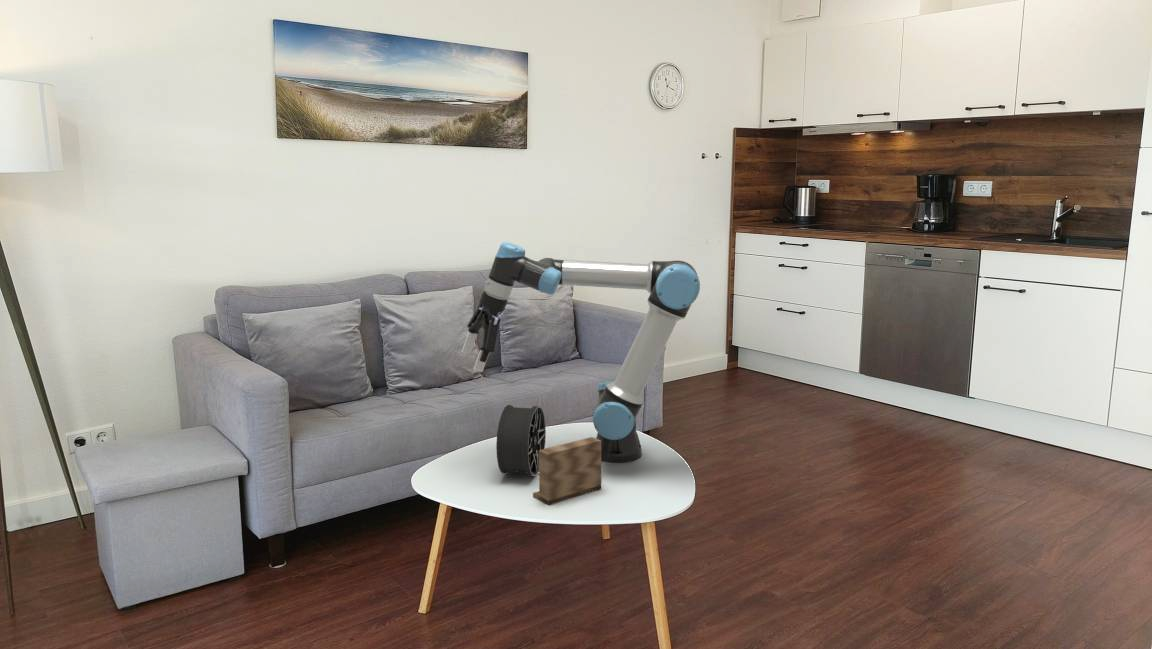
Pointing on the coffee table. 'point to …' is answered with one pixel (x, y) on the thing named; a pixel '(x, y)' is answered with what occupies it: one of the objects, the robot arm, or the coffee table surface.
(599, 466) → the stop board
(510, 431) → the wheel rim
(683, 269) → the robot arm
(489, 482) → the coffee table surface
